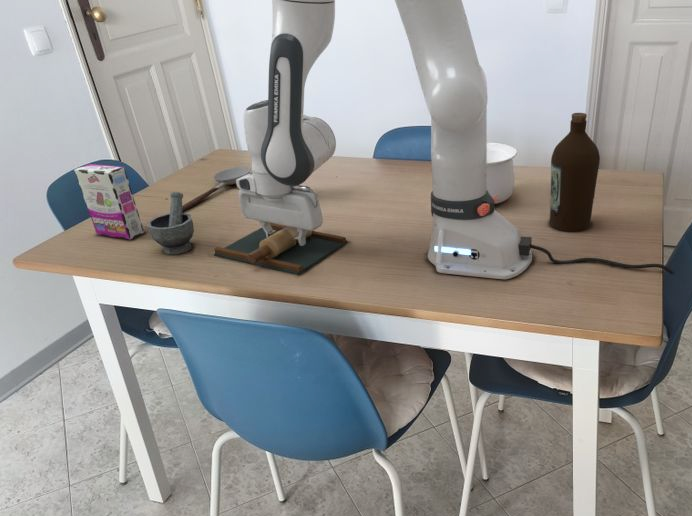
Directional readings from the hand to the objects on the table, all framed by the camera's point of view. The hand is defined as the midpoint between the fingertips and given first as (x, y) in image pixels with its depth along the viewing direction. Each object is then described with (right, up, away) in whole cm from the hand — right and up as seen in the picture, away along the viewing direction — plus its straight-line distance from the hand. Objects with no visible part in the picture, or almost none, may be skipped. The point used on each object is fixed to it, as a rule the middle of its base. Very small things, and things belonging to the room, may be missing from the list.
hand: (286, 241), depth 141 cm
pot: (+46, +15, +24) cm, 54 cm away
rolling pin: (0, -2, +1) cm, 2 cm away
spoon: (-29, +18, +34) cm, 48 cm away
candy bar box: (-44, +4, +13) cm, 46 cm away
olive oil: (+65, +5, +8) cm, 66 cm away
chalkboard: (-2, -1, +2) cm, 3 cm away
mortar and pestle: (-26, -1, +5) cm, 27 cm away
